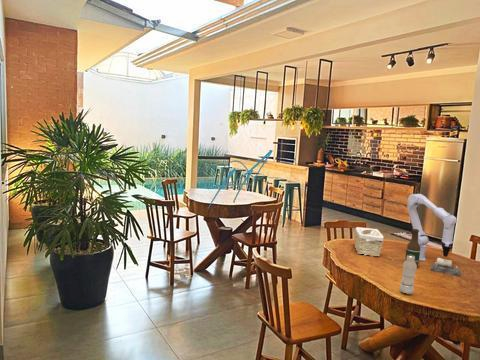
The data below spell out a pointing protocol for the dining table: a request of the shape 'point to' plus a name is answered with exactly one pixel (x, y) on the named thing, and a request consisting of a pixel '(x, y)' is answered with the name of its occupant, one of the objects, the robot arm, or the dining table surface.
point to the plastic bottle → (408, 275)
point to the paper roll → (444, 262)
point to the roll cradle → (446, 269)
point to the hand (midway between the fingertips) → (445, 254)
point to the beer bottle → (414, 247)
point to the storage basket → (368, 241)
